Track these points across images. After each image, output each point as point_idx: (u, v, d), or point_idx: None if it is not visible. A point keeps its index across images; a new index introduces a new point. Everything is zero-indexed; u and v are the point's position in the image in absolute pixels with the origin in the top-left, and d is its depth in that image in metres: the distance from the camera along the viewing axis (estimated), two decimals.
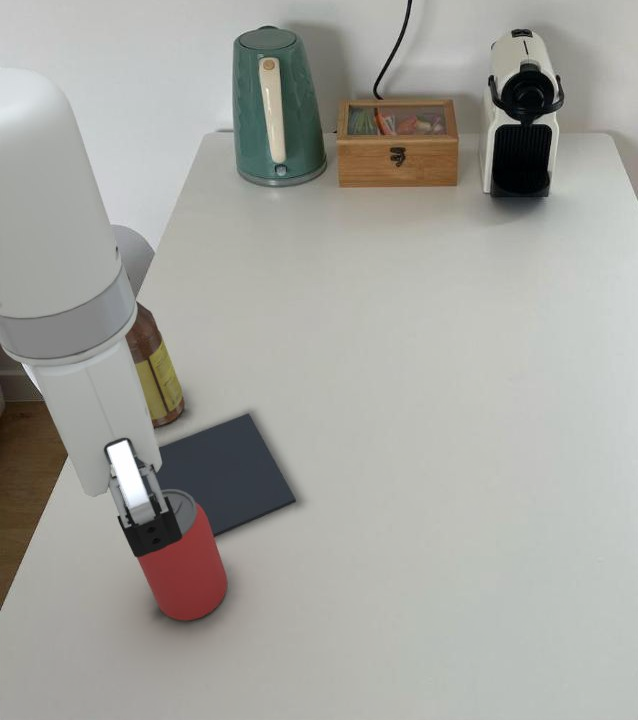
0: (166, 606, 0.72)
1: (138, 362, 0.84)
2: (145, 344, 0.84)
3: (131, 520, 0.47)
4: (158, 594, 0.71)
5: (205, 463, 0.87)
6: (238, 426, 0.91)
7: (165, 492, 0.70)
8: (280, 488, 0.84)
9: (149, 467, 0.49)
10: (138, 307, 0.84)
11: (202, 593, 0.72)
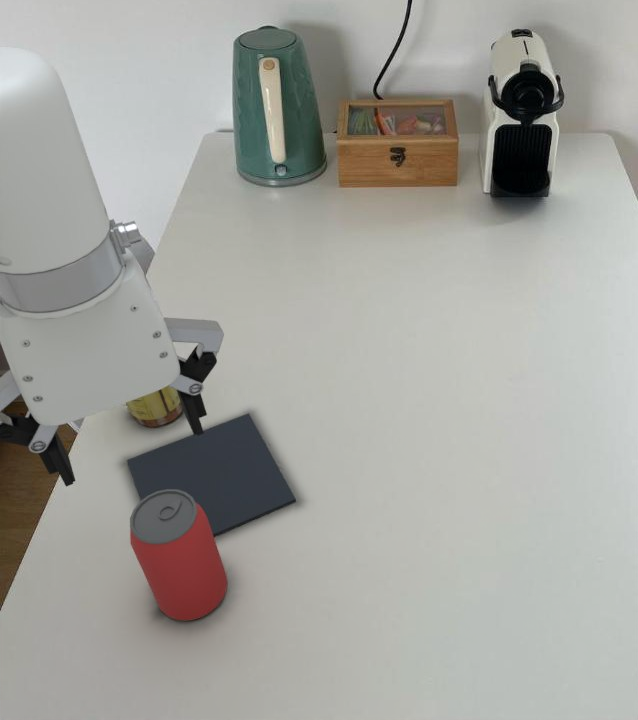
0: (166, 606, 0.72)
1: None
2: None
3: None
4: (158, 594, 0.71)
5: (205, 463, 0.87)
6: (238, 426, 0.91)
7: (165, 492, 0.70)
8: (280, 488, 0.84)
9: None
10: None
11: (202, 593, 0.72)
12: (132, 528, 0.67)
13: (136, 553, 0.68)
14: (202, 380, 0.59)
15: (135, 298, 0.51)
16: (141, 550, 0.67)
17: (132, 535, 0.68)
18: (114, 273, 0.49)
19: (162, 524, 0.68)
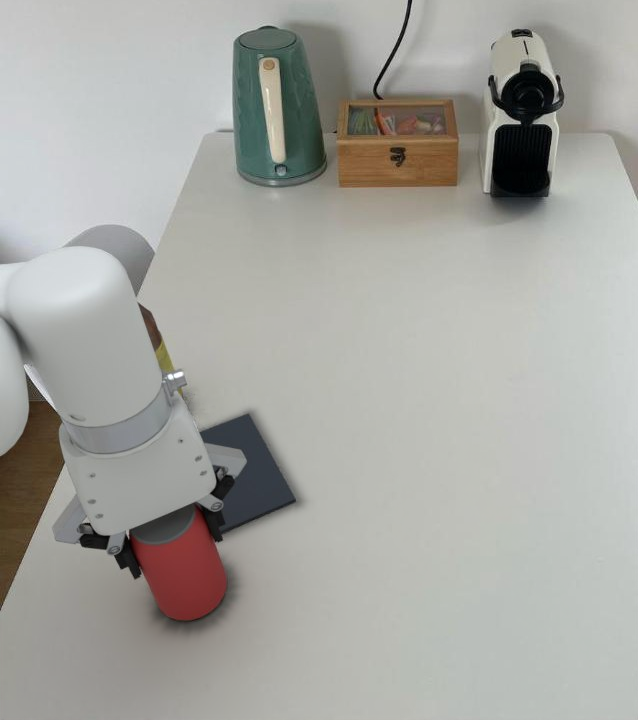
0: (165, 607, 0.72)
1: None
2: None
3: None
4: (157, 594, 0.71)
5: None
6: (238, 426, 0.91)
7: None
8: (280, 488, 0.84)
9: None
10: None
11: (201, 594, 0.72)
12: (130, 529, 0.67)
13: (135, 554, 0.68)
14: (222, 498, 0.69)
15: (181, 432, 0.61)
16: (139, 550, 0.67)
17: (131, 536, 0.67)
18: (165, 416, 0.59)
19: (160, 525, 0.67)
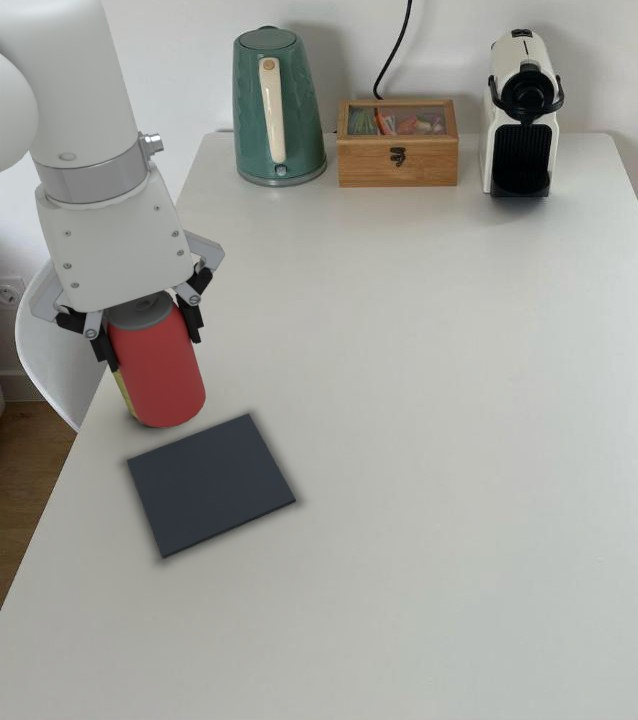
0: (143, 410, 0.72)
1: None
2: None
3: None
4: (135, 395, 0.71)
5: (205, 463, 0.87)
6: (238, 426, 0.91)
7: None
8: (280, 488, 0.84)
9: None
10: None
11: (179, 396, 0.72)
12: (108, 317, 0.67)
13: (112, 344, 0.68)
14: (200, 293, 0.69)
15: (158, 199, 0.61)
16: (116, 338, 0.67)
17: (108, 325, 0.68)
18: (141, 174, 0.59)
19: (138, 315, 0.68)
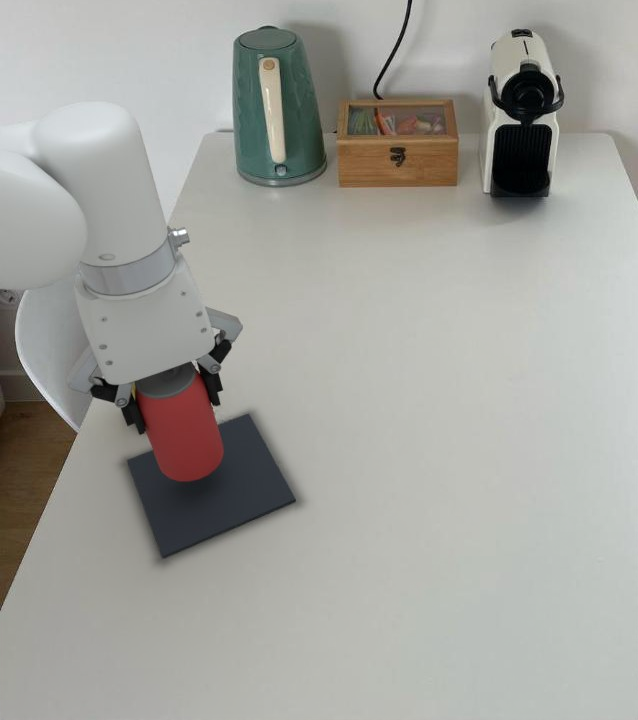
0: (167, 467, 0.79)
1: None
2: None
3: None
4: (160, 453, 0.78)
5: None
6: (238, 426, 0.91)
7: None
8: (280, 488, 0.84)
9: None
10: None
11: (200, 454, 0.78)
12: (137, 386, 0.74)
13: (140, 410, 0.74)
14: (220, 362, 0.76)
15: (184, 285, 0.67)
16: (145, 405, 0.73)
17: (137, 393, 0.74)
18: (170, 266, 0.65)
19: (164, 383, 0.74)
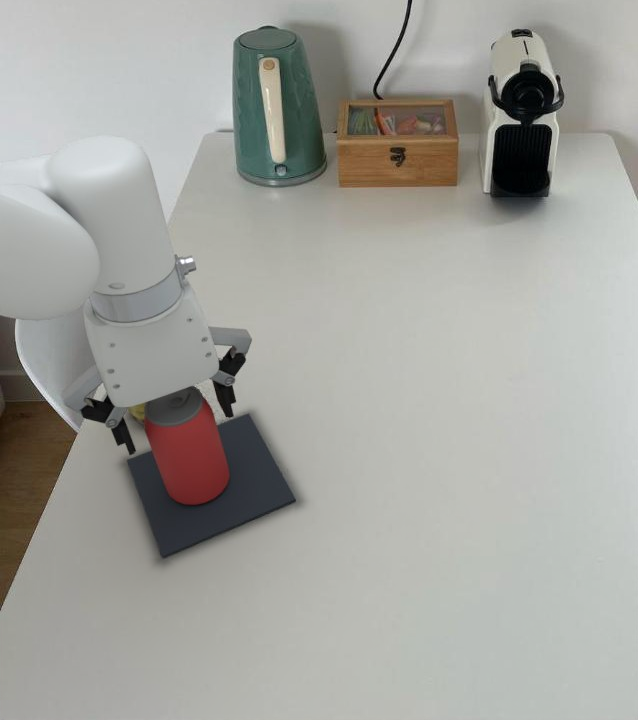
0: (175, 491, 0.81)
1: None
2: None
3: None
4: (168, 478, 0.80)
5: None
6: (238, 426, 0.91)
7: None
8: (280, 488, 0.84)
9: None
10: None
11: (207, 478, 0.81)
12: (146, 413, 0.76)
13: (149, 437, 0.77)
14: (234, 374, 0.77)
15: (191, 312, 0.69)
16: (154, 432, 0.76)
17: (146, 420, 0.77)
18: (177, 294, 0.67)
19: (172, 411, 0.77)
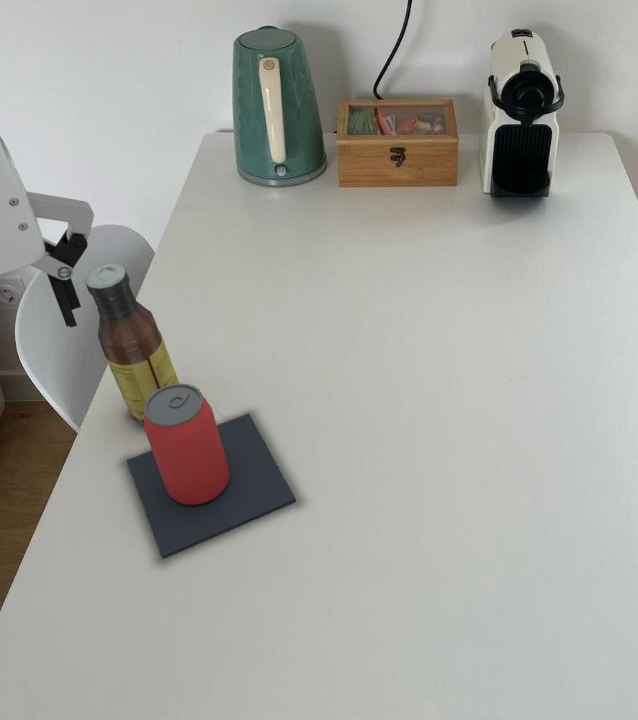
0: (175, 491, 0.81)
1: (138, 363, 0.84)
2: (145, 345, 0.84)
3: None
4: (168, 478, 0.80)
5: None
6: (238, 426, 0.91)
7: (174, 385, 0.79)
8: (280, 488, 0.84)
9: None
10: (138, 307, 0.84)
11: (207, 478, 0.81)
12: (146, 413, 0.76)
13: (149, 437, 0.77)
14: (72, 265, 0.57)
15: None
16: (154, 432, 0.76)
17: (146, 420, 0.77)
18: None
19: (172, 411, 0.77)
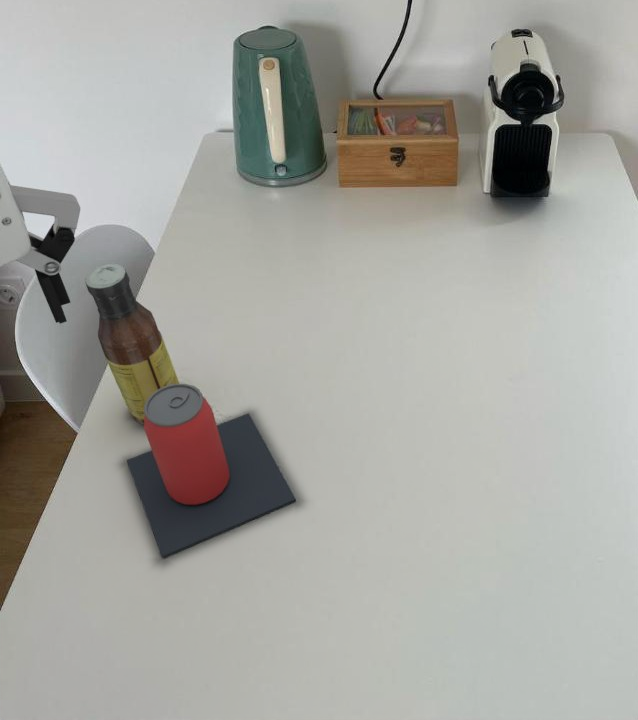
0: (175, 491, 0.81)
1: (138, 363, 0.84)
2: (145, 345, 0.84)
3: None
4: (168, 478, 0.80)
5: None
6: (238, 426, 0.91)
7: (174, 385, 0.79)
8: (280, 488, 0.84)
9: None
10: (138, 307, 0.84)
11: (207, 478, 0.81)
12: (146, 413, 0.76)
13: (149, 437, 0.77)
14: (60, 260, 0.56)
15: None
16: (154, 432, 0.76)
17: (146, 420, 0.77)
18: None
19: (172, 411, 0.77)
